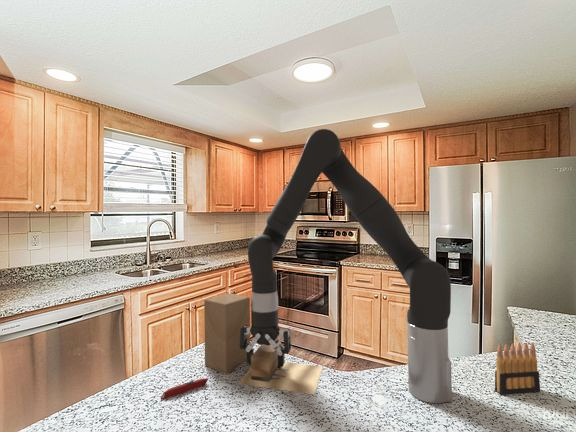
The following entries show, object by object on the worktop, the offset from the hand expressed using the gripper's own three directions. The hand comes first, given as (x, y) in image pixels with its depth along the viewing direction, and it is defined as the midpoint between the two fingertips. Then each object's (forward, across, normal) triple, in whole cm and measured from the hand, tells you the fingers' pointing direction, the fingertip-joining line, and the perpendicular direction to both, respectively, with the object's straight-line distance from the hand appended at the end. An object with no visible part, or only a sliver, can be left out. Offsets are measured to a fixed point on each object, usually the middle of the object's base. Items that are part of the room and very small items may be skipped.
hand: (265, 365), depth 82 cm
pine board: (+3, -5, 0) cm, 6 cm away
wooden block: (+4, +14, -5) cm, 15 cm away
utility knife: (+4, +18, +11) cm, 21 cm away
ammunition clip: (+4, -64, -9) cm, 64 cm away
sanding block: (+2, 0, 0) cm, 2 cm away
